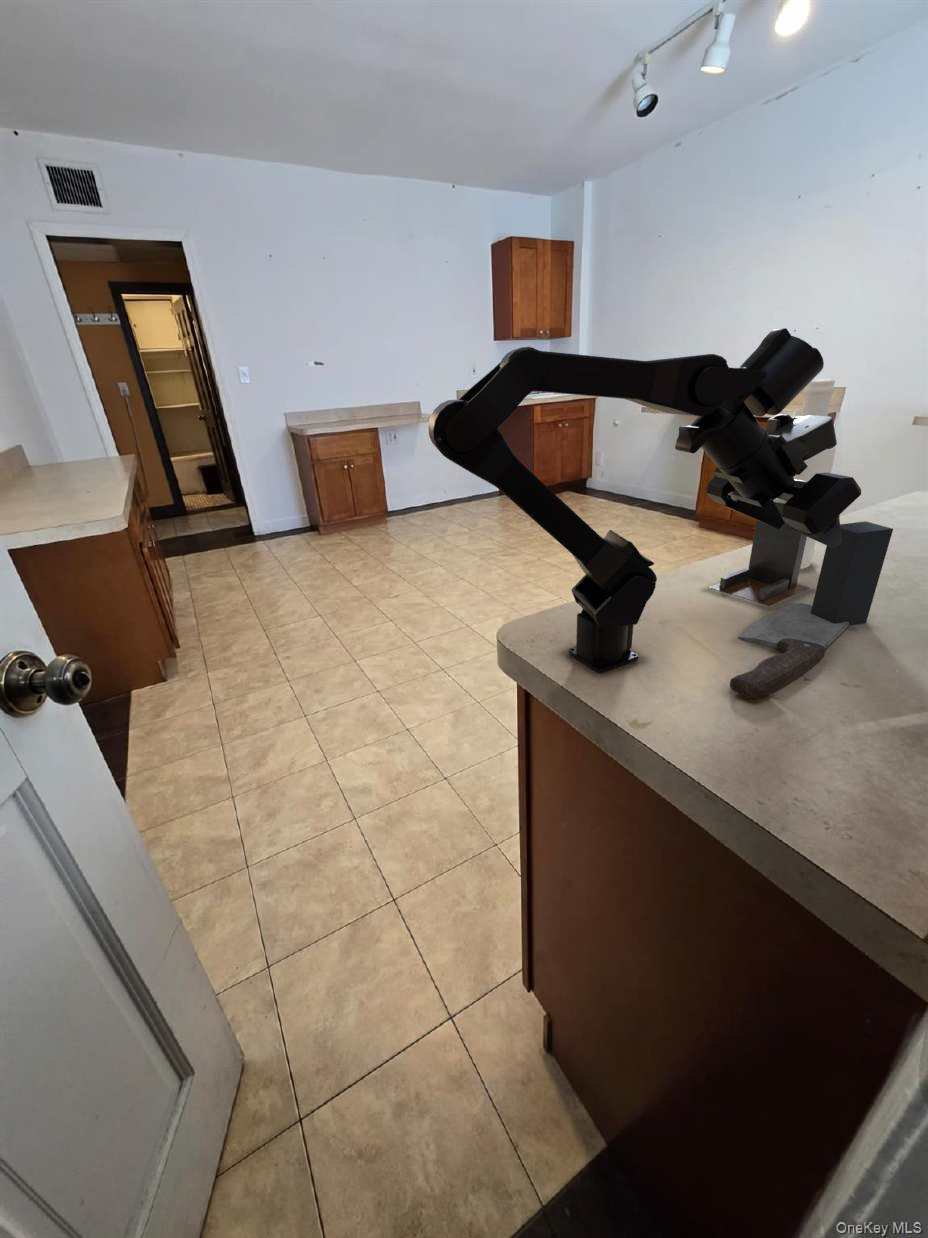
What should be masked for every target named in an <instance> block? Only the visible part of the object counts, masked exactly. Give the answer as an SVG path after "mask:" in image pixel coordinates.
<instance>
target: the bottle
mask: <svg viewBox="0 0 928 1238" xmlns="http://www.w3.org/2000/svg"><path fill="white" fill-rule="evenodd" d="M835 383H836V380H835V379H834V378H824V379H823V378H822V379H813V380H812V381H811V382H810V383H809V384H808V385H807V386H806V387H805V388H804V389H803V394H804V396H803V400H802V406H801V411H800V415H799V416H800V417H802V416H807V415H816V416H829V410H830V405H831V402H832V397H833V393H834V392H835ZM836 451H837V450H836V446H834V447H833V448H831V449H826V450H824V451H822V452H820V453H819V454H817V455H815V456H813V457H811V458H810V459H808V460H805V461H804V462H805V463H806V465H807V466H808V467H807V468H806V469H805V470H804V471H803V472H802V473H801V474H800V475H795V476H794V477H793V478H794V479H795V480H800V481H805V482H808V481H809V480H810V479H811V478H812V477H813V476H814V475H815V474H816V473H832V469H833V465H834V460H835V456H836V453H837V452H836ZM776 499H778V498H776ZM779 500H782V499H779ZM816 542H817V541H816V540H814V539H811V538H809V537H807V539H806V544H805V548H804V553H803V558H802V562H801V567H800V570H802V569H803V570H804V569H806V568H809V567H810V566H811V562H812V560H813V557H814V552H815V545H816Z"/></svg>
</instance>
